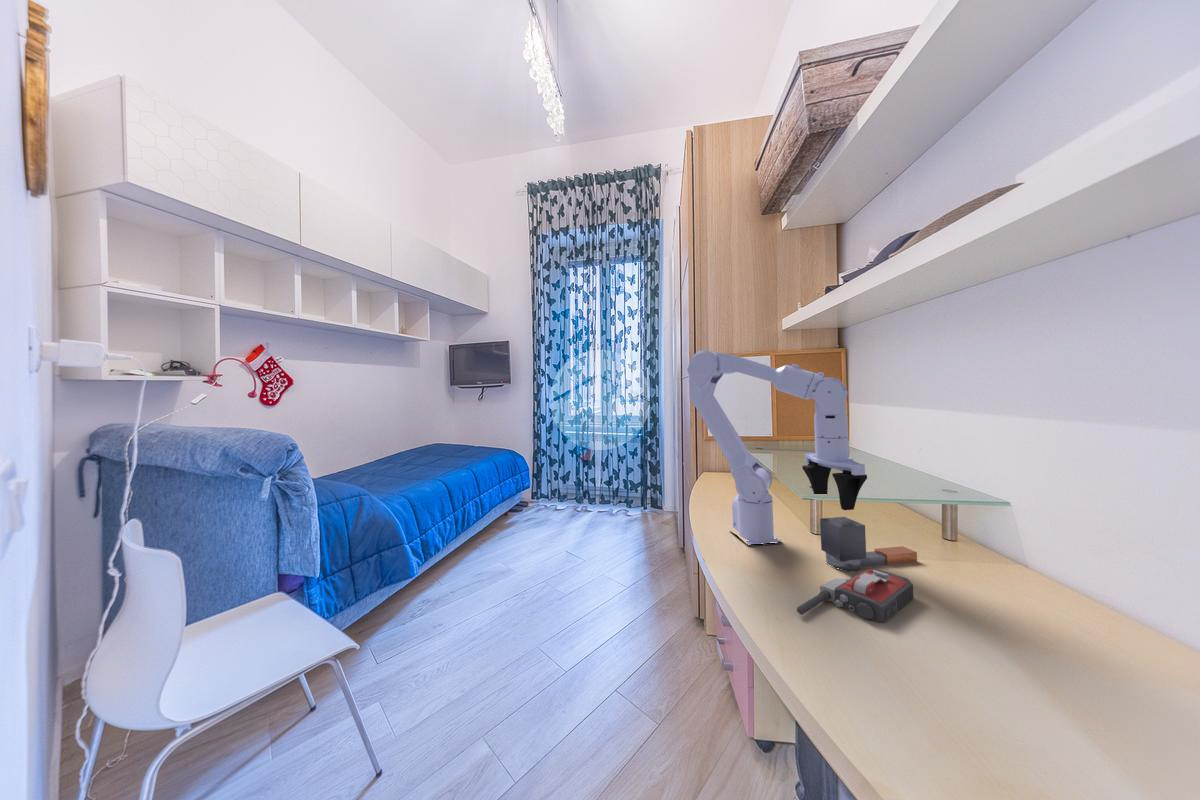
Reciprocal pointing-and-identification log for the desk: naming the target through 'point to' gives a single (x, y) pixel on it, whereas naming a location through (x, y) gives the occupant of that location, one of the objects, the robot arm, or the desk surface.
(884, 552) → the ratchet
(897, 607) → the walkie-talkie
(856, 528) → the dark grey block
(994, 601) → the desk surface
